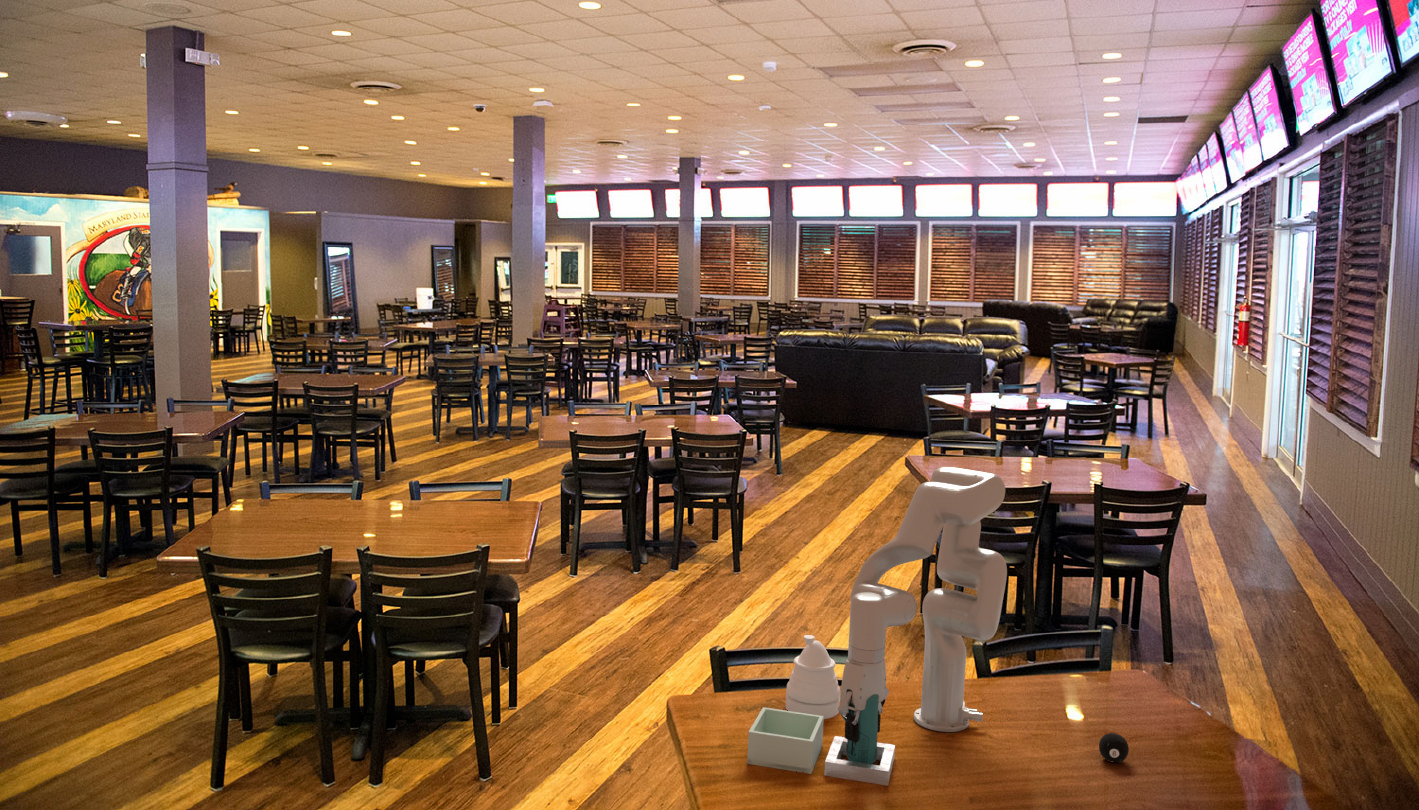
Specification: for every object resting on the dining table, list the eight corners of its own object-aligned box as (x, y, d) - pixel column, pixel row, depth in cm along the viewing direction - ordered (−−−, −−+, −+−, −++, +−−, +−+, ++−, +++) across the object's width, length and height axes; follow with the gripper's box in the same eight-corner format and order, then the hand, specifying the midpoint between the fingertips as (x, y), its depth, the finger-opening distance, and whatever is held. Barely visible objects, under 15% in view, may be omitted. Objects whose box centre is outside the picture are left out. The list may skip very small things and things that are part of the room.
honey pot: (806, 723, 237) (809, 648, 235) (775, 703, 248) (778, 631, 246) (850, 713, 243) (854, 640, 241) (818, 694, 254) (821, 624, 252)
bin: (822, 746, 225) (823, 716, 224) (811, 774, 212) (812, 741, 211) (761, 737, 228) (763, 707, 228) (747, 763, 215) (748, 731, 214)
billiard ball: (1126, 757, 225) (1128, 731, 224) (1128, 769, 219) (1130, 742, 218) (1097, 753, 227) (1099, 727, 226) (1098, 764, 221) (1100, 737, 220)
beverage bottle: (882, 765, 216) (887, 673, 214) (864, 775, 211) (869, 682, 209) (856, 755, 220) (861, 665, 218) (838, 765, 216) (843, 673, 213)
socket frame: (894, 758, 220) (895, 745, 220) (887, 785, 208) (888, 771, 207) (834, 749, 224) (834, 736, 223) (824, 775, 211) (825, 761, 211)
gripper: (877, 639, 222) (873, 718, 224) (825, 657, 210) (821, 741, 212) (905, 648, 216) (901, 730, 218) (854, 667, 204) (850, 753, 206)
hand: (862, 734), depth 215 cm, fingers closed on beverage bottle, 6 cm apart
